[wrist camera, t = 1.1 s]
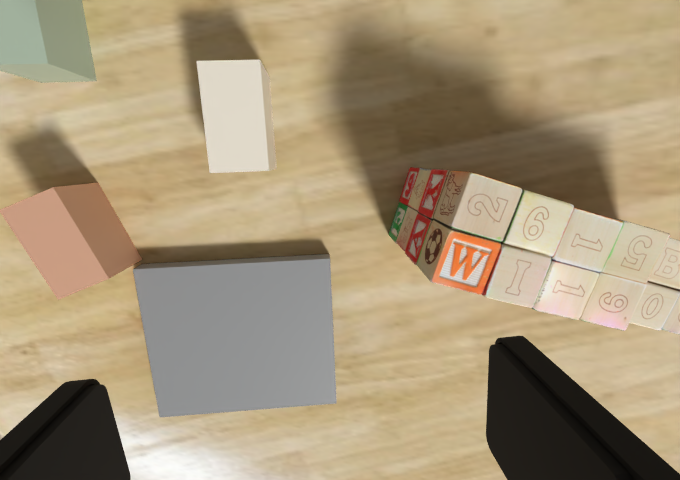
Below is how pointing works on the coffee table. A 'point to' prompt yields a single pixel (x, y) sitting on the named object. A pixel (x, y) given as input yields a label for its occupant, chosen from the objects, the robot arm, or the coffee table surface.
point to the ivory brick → (237, 115)
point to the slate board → (238, 333)
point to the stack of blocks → (537, 251)
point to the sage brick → (45, 41)
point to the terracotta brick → (72, 236)
